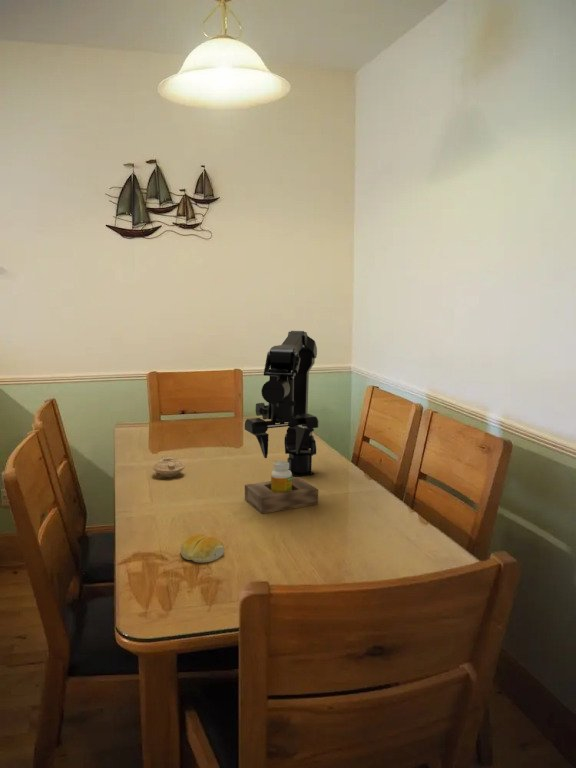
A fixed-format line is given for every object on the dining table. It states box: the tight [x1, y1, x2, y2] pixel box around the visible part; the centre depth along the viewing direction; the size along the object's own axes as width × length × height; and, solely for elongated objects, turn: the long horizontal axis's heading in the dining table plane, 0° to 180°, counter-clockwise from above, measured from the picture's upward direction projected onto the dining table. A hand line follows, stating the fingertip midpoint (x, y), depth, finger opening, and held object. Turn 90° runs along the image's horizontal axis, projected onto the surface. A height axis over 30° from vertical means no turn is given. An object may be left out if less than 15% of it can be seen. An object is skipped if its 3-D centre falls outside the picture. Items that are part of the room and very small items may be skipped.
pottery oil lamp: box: [152, 455, 186, 478], centre depth 180 cm, size 9×12×7 cm
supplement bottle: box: [270, 460, 293, 493], centre depth 157 cm, size 5×5×10 cm
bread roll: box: [180, 533, 225, 564], centre depth 127 cm, size 8×9×4 cm
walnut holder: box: [244, 476, 319, 514], centre depth 158 cm, size 16×11×4 cm
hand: (281, 455), depth 156 cm, fingers open, 9 cm apart
